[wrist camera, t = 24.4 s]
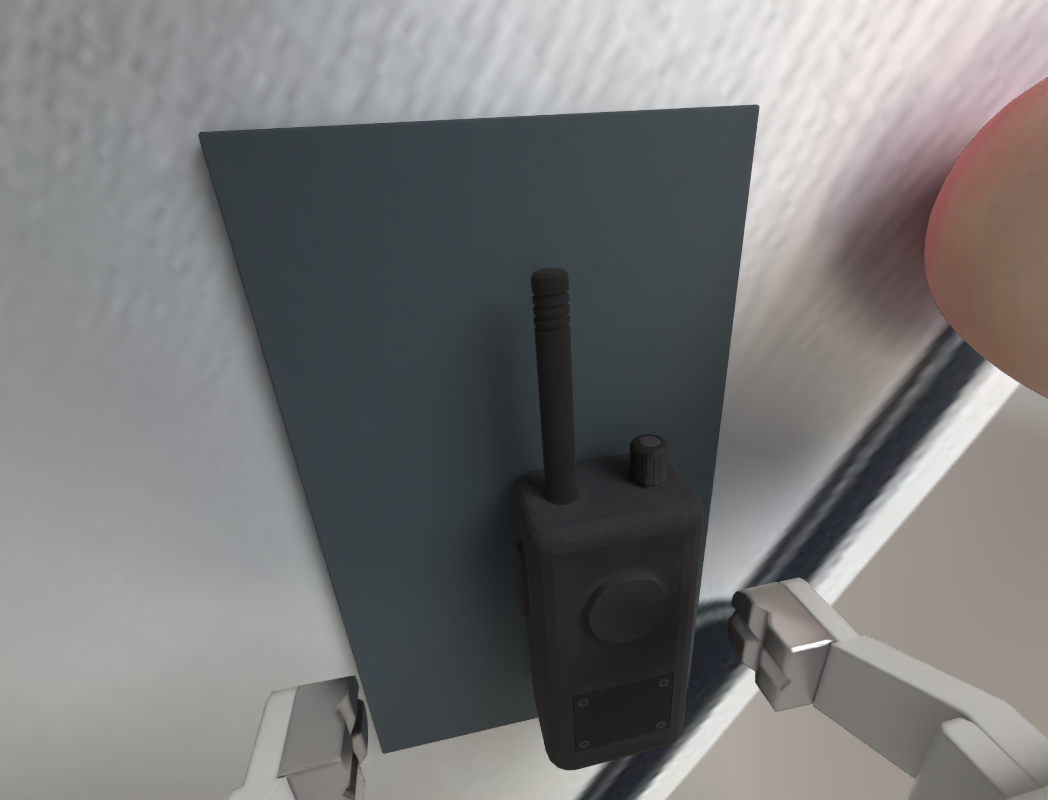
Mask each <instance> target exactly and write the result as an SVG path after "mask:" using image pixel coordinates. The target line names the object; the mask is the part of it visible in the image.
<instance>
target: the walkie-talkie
mask: <svg viewBox="0 0 1048 800" xmlns="http://www.w3.org/2000/svg"><path fill="white" fill-rule="evenodd" d="M531 288H532V293H534V296H532V303H533V304H534V305H535V306H534V307H533V314H534V315H535V316H536V317H534V325H535V326H536V327H535V329H534V332H535V346H536V361H537V376H538V390H539V405H540V419H541V434H542V448H543V463H544V468H543V469H537V470H534V471H530V472H528V473H526V474H524V475H523V476H521V477H520V478H519V480H518V481H517V482H516V484H515V487H514V504H515V514H516V524H517V533H518V543H515V544H514V545H513V554H514V563H515V572H516V581H517V590H518V599H519V606H520V610H521V614H522V616H523V617H526V622H527V631H528V641H529V651H530V661H531V671H532V680H533V690H534V699H535V704H536V708H537V713H538V717H539V722H540V726H541V731H542V735H543V740H544V744H545V749H546V752H547V754H548V757H549V759H550V761H551V762H552V763H553V764H555V765H556V766H557V767H558V768H561V769H564V770H577V769H581V768H585V767H588V766H592V765H596V764H600V763H603V762H607V761H611V760H615V759H619V758H622V757H626V756H630V755H634V754H638V753H641V752H645V751H649V750H653V749H657V748H660V747H664V746H668V745H670V744H672V743H674V742H676V740H677V739H678V738H679V736H680V735H681V734H682V729H683V723H684V712H685V702H686V692H687V682H688V672H689V662H690V651H691V641H692V631H693V621H694V611H695V601H696V590H697V580H698V570H699V560H700V550H701V540H702V529H703V519H704V506H703V503H702V501H701V499H700V497H699V496H698V495H697V494H696V493H695V491H694V490H693V489H692V488H691V487H690V486H689V485H688V483H687V482H686V481H685V480H684V479H683V478H682V477H681V475H680V474H679V473H678V472H677V471H676V470H675V469H674V467H673V466H672V465H671V464H670V463H669V462H668V452H669V447H668V444H667V442H666V441H665V440H664V439H663V438H662V437H660V436H657V435H654V434H643V435H639V436H637V437H635V438H634V439H633V440H632V441H631V443H630V454H624V455H619V456H613V457H607V458H601V459H595V460H589V461H584V462H578V463H575V436H574V409H573V381H572V354H571V327H570V326H569V325H568V324H570V315H568V313H569V312H570V305H569V304H567V303H568V302H569V301H570V299H569V294H568V293H567V291H568V290H569V276H568V273H567V272H566V271H565V270H564V269H561V268H544V269H540V270H537V271H535V272H534V273H533V274H532V276H531Z"/></svg>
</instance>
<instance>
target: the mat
mask: <svg viewBox="0 0 1048 800" xmlns="http://www.w3.org/2000/svg"><path fill="white" fill-rule="evenodd" d="M758 113H759V106H758V105H741V106H721V107H700V108H680V109H660V110H639V111H619V112H599V113H579V114H558V115H538V116H518V117H497V118H477V119H457V120H437V121H416V122H396V123H376V124H355V125H335V126H315V127H294V128H274V129H254V130H234V131H213V132H200V133H199V135H198V136H199V139H200V143H201V146H202V149H203V153H204V156H205V160H206V163H207V166H208V170H209V173H210V176H211V180H212V183H213V186H214V190H215V193H216V196H217V200H218V203H219V206H220V210H221V213H222V216H223V220H224V223H225V227H226V230H227V233H228V237H229V240H230V243H231V247H232V250H233V253H234V257H235V260H236V263H237V267H238V270H239V273H240V277H241V280H242V283H243V287H244V290H245V294H246V297H247V300H248V304H249V307H250V310H251V314H252V317H253V320H254V324H255V327H256V330H257V334H258V337H259V340H260V344H261V347H262V350H263V354H264V357H265V360H266V364H267V367H268V371H269V374H270V377H271V381H272V384H273V387H274V391H275V394H276V397H277V401H278V404H279V407H280V411H281V414H282V417H283V421H284V424H285V427H286V431H287V434H288V438H289V441H290V444H291V448H292V451H293V454H294V458H295V461H296V464H297V468H298V471H299V474H300V478H301V481H302V484H303V488H304V491H305V494H306V498H307V501H308V505H309V508H310V511H311V515H312V518H313V521H314V525H315V528H316V531H317V535H318V538H319V541H320V545H321V548H322V551H323V555H324V558H325V561H326V565H327V568H328V571H329V575H330V578H331V582H332V585H333V588H334V592H335V595H336V598H337V602H338V605H339V608H340V612H341V615H342V618H343V622H344V625H345V628H346V632H347V635H348V638H349V642H350V645H351V649H352V652H353V655H354V659H355V662H356V665H357V669H358V672H359V675H360V679H361V682H362V685H363V689H364V692H365V695H366V699H367V702H368V705H369V709H370V712H371V716H372V719H373V722H374V726H375V729H376V732H377V736H378V739H379V742H380V746H381V749H382V752H383V753H384V754H385V753H389V752H393V751H397V750H402V749H406V748H410V747H414V746H419V745H423V744H427V743H431V742H436V741H440V740H444V739H449V738H453V737H457V736H461V735H466V734H470V733H474V732H478V731H483V730H487V729H491V728H495V727H500V726H504V725H508V724H512V723H517V722H521V721H525V720H529V719H534V718H538V713H537V708H536V704H535V699H534V690H533V680H532V671H531V661H530V651H529V641H528V631H527V622H526V617H523V616H522V614H521V610H520V606H519V599H518V590H517V581H516V572H515V563H514V554H513V545H514V544H515V543H518V533H517V524H516V514H515V504H514V487H515V484H516V482H517V481H518V480H519V478H520V477H521V476H523V475H524V474H526V473H528V472H530V471H534V470H537V469H543V468H544V463H543V448H542V434H541V419H540V405H539V390H538V376H537V361H536V346H535V332H534V329H535V327H536V326H535V325H534V317H536V316H535V315H534V314H533V307H534V306H535V305H534V304H533V303H532V296H534V293H532V288H531V276H532V274H533V273H534V272H535V271H537V270H540V269H544V268H561V269H564V270H565V271H566V272H567V273H568V276H569V290H568V291H567V293H568V294H569V299H570V301H569V302H568V303H567V304H569V305H570V312H569V313H568V315H570V324H568V325H569V326H570V327H571V354H572V381H573V409H574V436H575V463H578V462H584V461H589V460H595V459H601V458H607V457H613V456H619V455H624V454H630V443H631V441H632V440H633V439H634V438H635V437H637V436H639V435H643V434H654V435H657V436H660V437H662V438H663V439H664V440H665V441H666V442H667V444H668V447H669V452H668V462H669V463H670V464H671V465H672V466H673V467H674V469H675V470H676V471H677V472H678V473H679V474H680V475H681V477H682V478H683V479H684V480H685V481H686V482H687V483H688V485H689V486H690V487H691V488H692V489H693V490H694V491H695V493H696V494H697V495H698V496H699V497H700V499H701V501H702V503H703V506H704V519H703V529H702V540H701V550H700V560H699V570H698V580H697V590H696V601H695V611H694V621H693V631H692V641H691V651H690V662H689V672H688V682H689V675H690V667H691V659H692V651H693V643H694V634H695V626H696V618H697V610H698V602H699V594H700V586H701V577H702V569H703V561H704V553H705V545H706V537H707V529H708V520H709V512H710V504H711V496H712V488H713V480H714V472H715V463H716V455H717V447H718V439H719V431H720V423H721V415H722V406H723V398H724V390H725V382H726V374H727V366H728V358H729V349H730V341H731V333H732V325H733V317H734V309H735V301H736V292H737V284H738V276H739V268H740V260H741V252H742V244H743V236H744V227H745V219H746V211H747V203H748V195H749V187H750V179H751V170H752V162H753V154H754V146H755V138H756V130H757V122H758Z"/></svg>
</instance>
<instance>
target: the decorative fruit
mask: <svg viewBox="0 0 1048 800" xmlns="http://www.w3.org/2000/svg"><path fill="white" fill-rule="evenodd" d="M924 252H925V271H926V277H927V283H928V286H929V289H930V292H931V295H932V297H933V299H934V301H935V303H936V305H937V307H938V309H939V310H940V312H941V314H942V315H943V316H944V318H945V319H946V320H947V321H948V323H949V324H950V325H951V327H952V328H953V329H954V330H955V331H956V332H957V334H958V335H959V336H960V337H961V338H963V339H964V340H965V341H966V342H967V343H968V344H969V345H970V346H971V347H972V348H973V349H974V350H975V351H976V352H978V353H979V354H980V355H981V356H983V357H984V358H985V359H987V360H988V361H989V362H991V363H992V364H993V365H994V366H996V367H997V368H998V369H1000V370H1001V371H1002V372H1004V373H1005V374H1007V375H1008V376H1010V377H1012V378H1013V379H1015V380H1016V381H1018V382H1019V383H1021V384H1023V385H1024V386H1026V387H1028V388H1029V389H1031V390H1033V391H1035V392H1037V393H1038V394H1040V395H1042V396H1044V397H1046V398H1047V399H1048V77H1047V78H1045V79H1044V80H1042V81H1041V82H1039V83H1038V84H1036V85H1035V86H1033V87H1032V88H1030V89H1029V90H1027V91H1026V92H1024V93H1023V94H1021V95H1020V96H1018V97H1017V98H1015V99H1014V100H1013V101H1012V102H1010V103H1009V104H1008V105H1007V106H1006V107H1004V108H1003V109H1002V110H1001V111H1000V112H999V113H997V114H996V115H995V116H994V117H993V118H992V119H991V120H990V121H989V122H988V123H987V124H986V125H985V126H984V127H983V128H982V129H981V130H980V131H979V132H978V133H977V135H976V136H975V137H974V138H973V139H972V141H971V142H970V143H969V144H968V146H967V147H966V148H965V149H964V151H963V152H962V153H961V155H960V156H959V158H958V159H957V161H956V162H955V164H954V165H953V167H952V169H951V171H950V172H949V174H948V176H947V178H946V179H945V181H944V183H943V185H942V187H941V190H940V192H939V194H938V196H937V198H936V201H935V203H934V206H933V208H932V211H931V214H930V217H929V222H928V227H927V232H926V240H925V251H924Z"/></svg>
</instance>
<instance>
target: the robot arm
mask: <svg viewBox="0 0 1048 800" xmlns="http://www.w3.org/2000/svg"><path fill="white" fill-rule="evenodd" d="M732 605H733V607H734V608H735V609H736V611H735V612H734V613H733V615H732V616H731V617H730V618H729V623H728V633H729V638H730V642H731V645H732V647H733V649H734V651H735V653H736V655H737V656H738V658H739V659H740V661H741V662H742V664H744V665H746V666H747V667H749V668H751V669H752V670H754V671H755V683H756V684H757V686H758V687H759V689H760V690H761V692H762V693H763V694H764V696H765V697H766V699H767V700H768V701H769V703H770V705H771V706H772V707H773V709H774V710H775V712H778V711H783V710H787V709H792V708H796V707H800V706H804V705H809V704H813V703H814V704H813V706H814V707H815V708H816V709H818V710H819V711H821V712H822V713H823V714H825V715H826V716H828V717H829V718H830V719H832V720H833V721H835V722H836V723H838V724H839V725H840V726H842V727H843V728H844V729H846V730H847V731H849V732H850V733H851V734H853V735H854V736H855V737H857V738H858V739H860V740H861V741H863V742H864V743H865V744H867V745H868V746H869V747H871V748H872V749H874V750H875V751H876V752H878V753H879V754H881V755H882V756H883V757H885V758H886V759H888V760H889V761H890V762H892V763H893V764H895V765H896V766H897V767H899V768H900V769H902V770H903V771H904V772H906V773H907V774H909V775H910V776H912V777H913V778H914V779H915V780H914V782H913V784H912V786H911V788H910V791H909V793H908V795H907V797H906V800H1048V738H1046V737H1045V736H1044V735H1043V734H1042V733H1041V732H1040V731H1039V730H1037V729H1036V728H1035V727H1034V726H1033V725H1032V724H1031V723H1029V722H1028V721H1027V720H1026V719H1025V718H1024V717H1023V716H1022V715H1020V714H1019V713H1018V712H1017V711H1016V710H1015V709H1014V708H1013V707H1011V706H1010V705H1009V704H1008V703H1007V702H1005V701H1003V700H1001V699H999V698H997V697H995V696H993V695H990V694H988V693H986V692H984V691H982V690H980V689H978V688H976V687H974V686H972V685H970V684H967V683H965V682H963V681H961V680H959V679H957V678H955V677H953V676H951V675H948V674H947V673H945V672H942V671H940V670H938V669H936V668H934V667H932V666H930V665H928V664H926V663H924V662H922V661H919V660H917V659H915V658H913V657H911V656H909V655H907V654H905V653H903V652H901V651H899V650H897V649H894V648H892V647H890V646H888V645H886V644H884V643H882V642H880V641H878V640H876V639H873V638H872V637H869V636H867V635H863V636H859V635H858V634H857V633H856V632H855V631H854V630H853V629H852V628H851V627H850V626H849V625H848V624H847V623H846V622H845V621H844V620H843V619H842V618H841V617H840V616H839V615H838V613H836V611H835V610H834V609H833V608H832V607H831V606H830V605H829V604H828V603H827V602H826V601H825V600H824V599H823V598H822V597H821V596H820V595H819V594H818V593H817V592H816V591H815V590H814V589H813V588H812V587H811V586H810V585H809V584H808V583H807V582H806V581H804V580H803V579H801V578H795V579H790V580H786V581H781V582H777V583H775V582H774V583H770V584H765V585H761V586H757V587H753V588H748V589H744V590H740V591H737V592H736V593H735V594H734V595H733V599H732ZM358 692H359V685H358V682H357V679H356V676H349V677H344V678H338V679H333V680H328V681H323V682H317V683H312V684H307V685H302V686H297V687H292V688H287V689H282V690H277V691H273V692H271V694H270V696H269V698H268V699H267V701H266V704H265V707H264V711H263V715H262V718H261V722H260V725H259V729H258V732H257V736H256V740H255V743H254V747H253V750H252V754H251V758H250V761H249V765H248V768H247V772H246V775H245V779H244V783H243V786H242V787H240V788H236V789H233V790H232V792H231V793H230V794H229V795H228V797H227V798H226V799H225V800H363V799H364V787H365V779H364V776H363V773H362V770H361V766H360V765H361V764H362V762H363V761H364V759H365V757H366V756H367V747H368V722H367V715H366V709H365V705H364V702H363V701H362V700H360V699H358Z"/></svg>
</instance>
